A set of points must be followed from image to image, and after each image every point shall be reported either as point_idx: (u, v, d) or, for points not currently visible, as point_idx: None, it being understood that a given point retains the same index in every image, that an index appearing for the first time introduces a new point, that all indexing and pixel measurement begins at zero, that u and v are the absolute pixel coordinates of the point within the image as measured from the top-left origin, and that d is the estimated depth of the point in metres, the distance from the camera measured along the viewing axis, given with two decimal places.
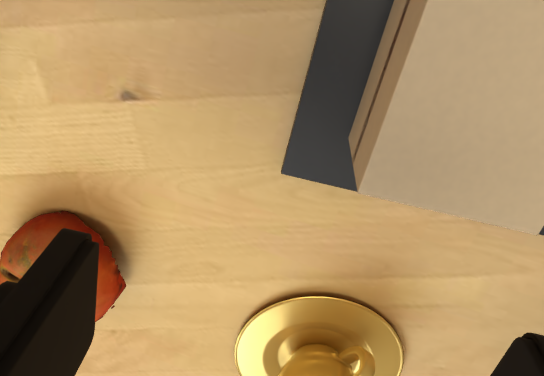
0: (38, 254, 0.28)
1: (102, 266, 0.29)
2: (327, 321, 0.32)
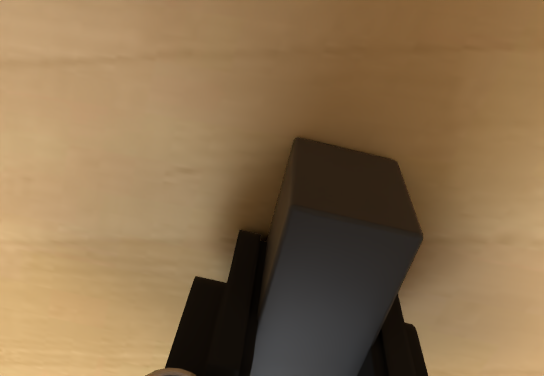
0: None
1: None
2: None
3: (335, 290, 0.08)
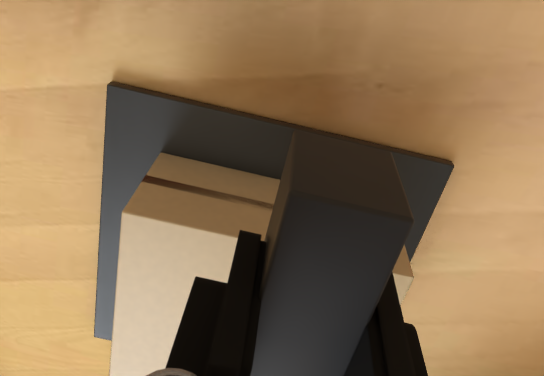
0: None
1: None
2: None
3: (332, 271, 0.09)
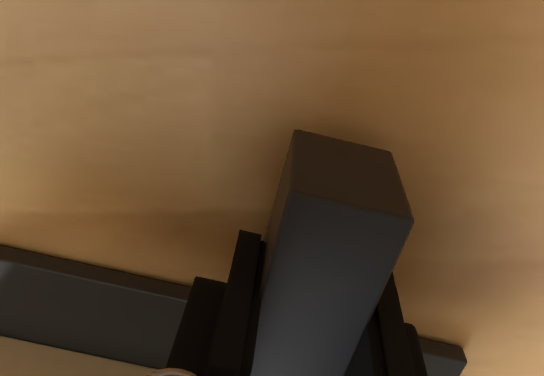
0: None
1: None
2: None
3: (332, 271, 0.09)
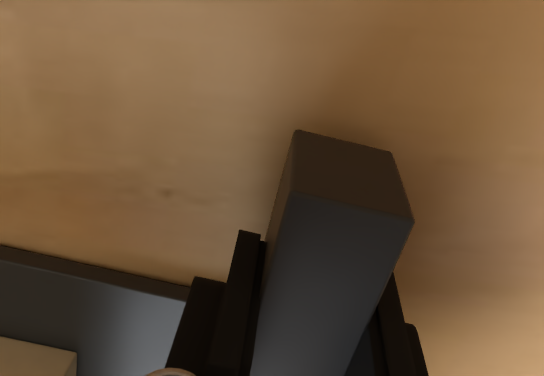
0: None
1: None
2: None
3: (332, 272, 0.09)
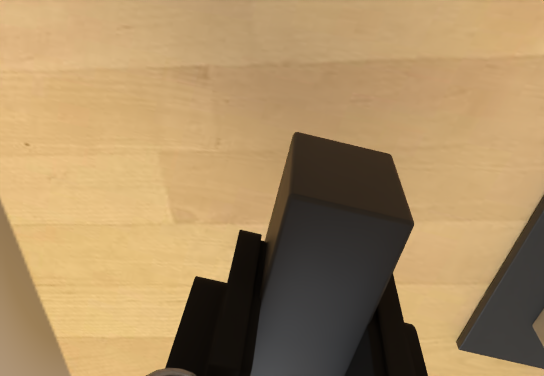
0: None
1: None
2: None
3: (332, 275, 0.09)
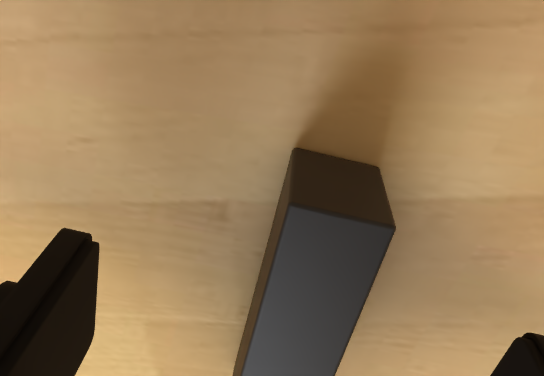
0: None
1: None
2: None
3: (326, 272, 0.10)
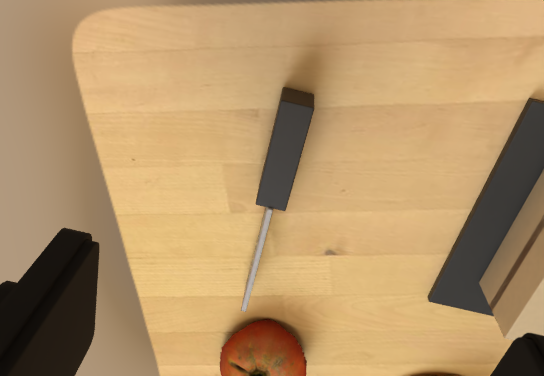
0: (261, 354, 0.41)
1: (299, 360, 0.42)
2: None
3: (293, 124, 0.31)
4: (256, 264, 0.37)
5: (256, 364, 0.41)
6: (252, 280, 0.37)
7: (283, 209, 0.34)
